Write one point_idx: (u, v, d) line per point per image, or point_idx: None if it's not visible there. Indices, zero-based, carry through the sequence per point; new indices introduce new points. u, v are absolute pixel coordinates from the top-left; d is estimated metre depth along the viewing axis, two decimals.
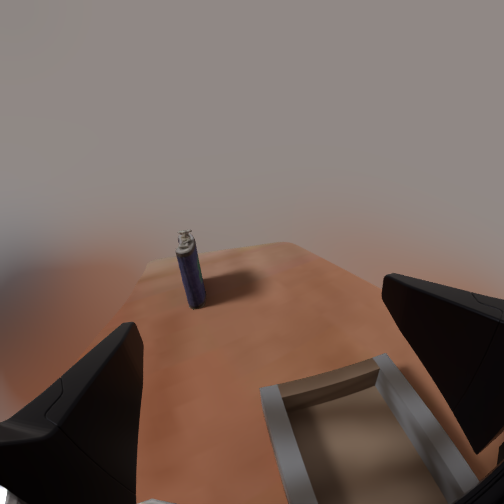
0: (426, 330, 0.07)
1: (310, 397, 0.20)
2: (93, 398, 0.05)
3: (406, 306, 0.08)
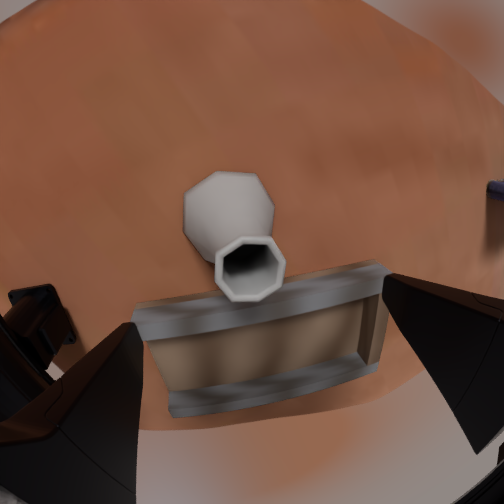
0: (426, 330, 0.07)
1: (371, 310, 0.24)
2: (93, 398, 0.05)
3: (406, 306, 0.08)
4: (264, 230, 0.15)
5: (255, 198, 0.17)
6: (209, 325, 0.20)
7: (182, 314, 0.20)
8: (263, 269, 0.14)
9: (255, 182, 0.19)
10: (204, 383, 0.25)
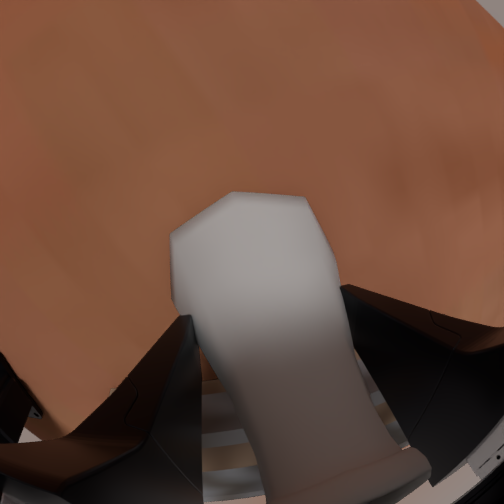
0: (377, 349, 0.07)
1: None
2: (172, 395, 0.05)
3: (357, 321, 0.08)
4: (352, 352, 0.06)
5: (323, 263, 0.08)
6: (221, 441, 0.11)
7: None
8: None
9: (311, 218, 0.09)
10: (212, 468, 0.16)
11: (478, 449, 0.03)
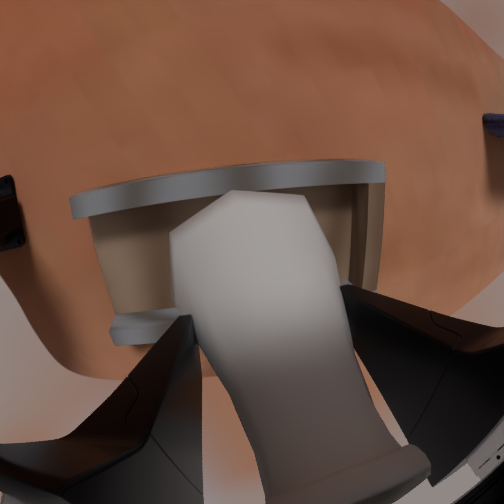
0: (377, 349, 0.07)
1: (361, 212, 0.20)
2: (173, 395, 0.05)
3: (357, 321, 0.08)
4: (351, 349, 0.06)
5: (322, 261, 0.08)
6: (156, 195, 0.16)
7: (128, 183, 0.16)
8: None
9: (310, 216, 0.09)
10: (156, 303, 0.22)
11: (478, 449, 0.03)
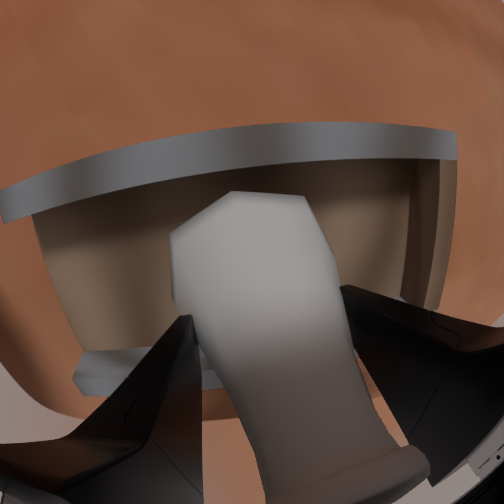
0: (377, 349, 0.07)
1: (426, 202, 0.12)
2: (173, 396, 0.05)
3: (357, 321, 0.08)
4: (351, 350, 0.06)
5: (322, 262, 0.08)
6: (111, 176, 0.09)
7: None
8: None
9: (310, 217, 0.10)
10: (135, 339, 0.14)
11: (478, 449, 0.03)
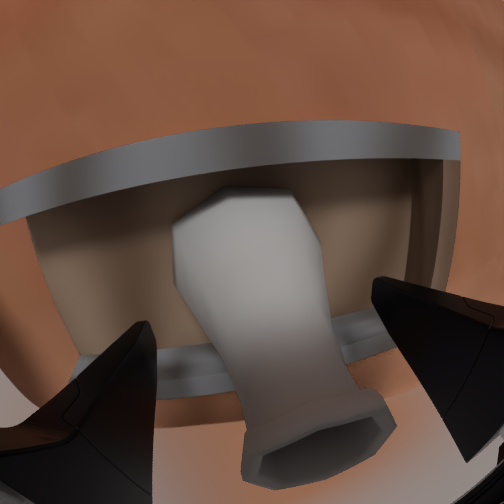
0: (415, 335, 0.07)
1: (429, 203, 0.12)
2: (111, 398, 0.05)
3: (395, 310, 0.08)
4: (327, 318, 0.07)
5: (302, 244, 0.09)
6: (105, 177, 0.08)
7: None
8: None
9: (295, 207, 0.11)
10: None
11: None
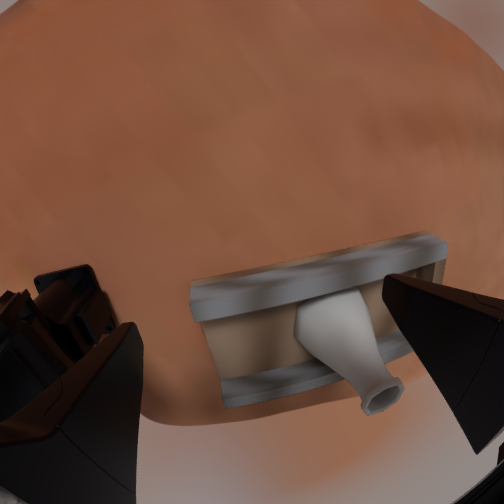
0: (426, 330, 0.07)
1: None
2: (93, 398, 0.05)
3: (406, 306, 0.08)
4: (378, 352, 0.18)
5: (367, 321, 0.19)
6: (280, 298, 0.19)
7: (250, 287, 0.19)
8: None
9: (360, 298, 0.21)
10: (260, 368, 0.24)
11: None
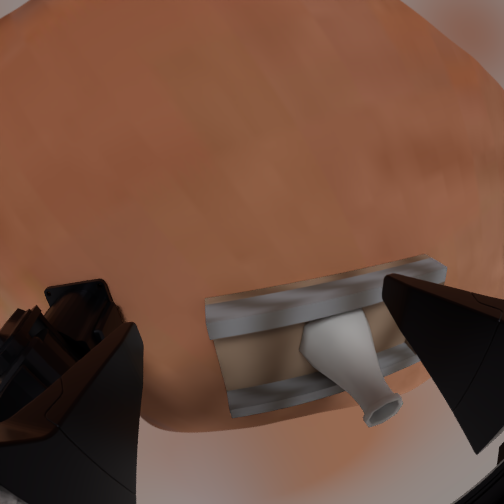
0: (426, 330, 0.07)
1: None
2: (93, 398, 0.05)
3: (406, 306, 0.08)
4: (379, 369, 0.19)
5: (370, 340, 0.20)
6: (292, 318, 0.20)
7: (264, 308, 0.20)
8: None
9: (364, 318, 0.22)
10: (265, 380, 0.25)
11: None
